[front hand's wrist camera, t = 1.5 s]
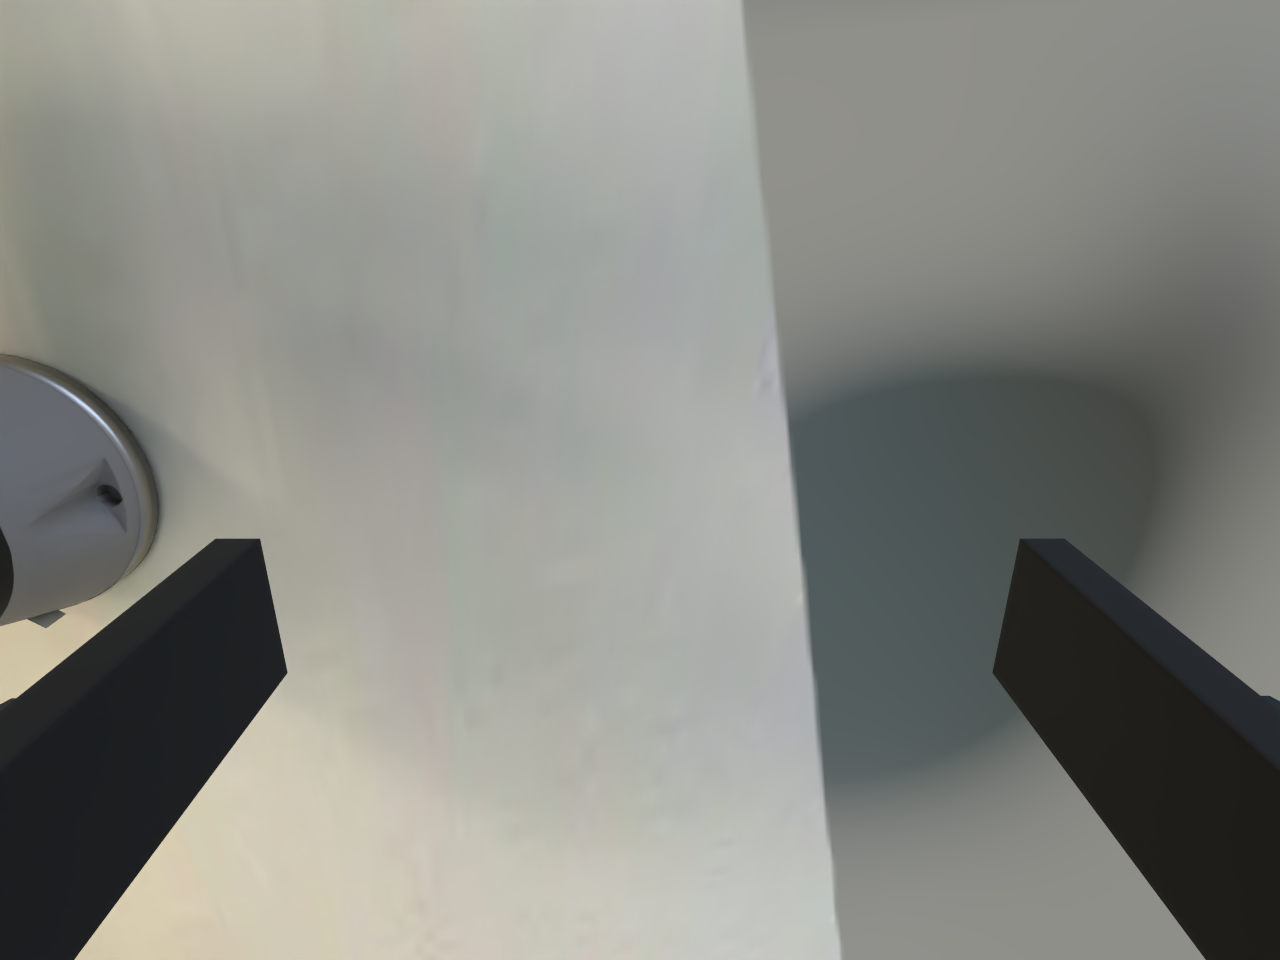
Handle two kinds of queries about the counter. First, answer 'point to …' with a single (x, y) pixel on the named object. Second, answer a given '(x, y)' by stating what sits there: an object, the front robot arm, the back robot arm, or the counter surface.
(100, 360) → the counter surface
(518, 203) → the counter surface
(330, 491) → the counter surface
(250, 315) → the counter surface
